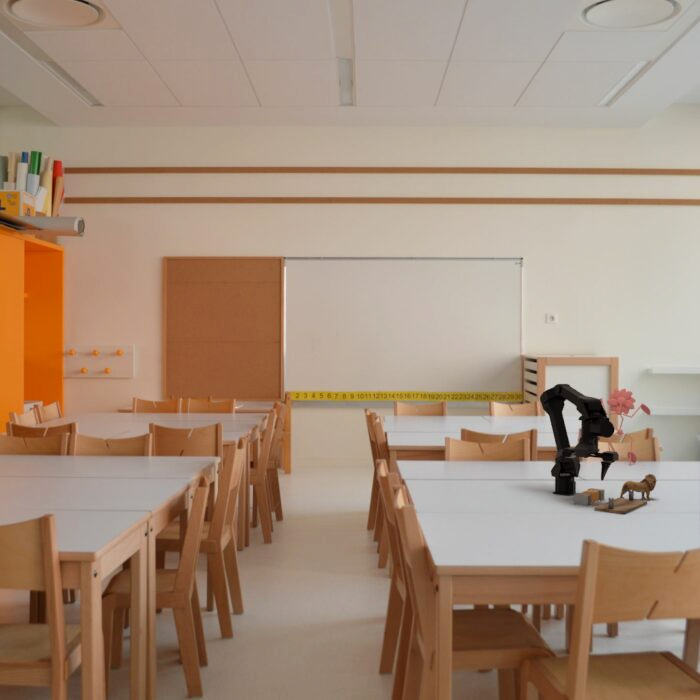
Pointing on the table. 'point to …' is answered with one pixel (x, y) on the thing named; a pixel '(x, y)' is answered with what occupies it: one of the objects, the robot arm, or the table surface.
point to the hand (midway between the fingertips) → (589, 478)
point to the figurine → (623, 403)
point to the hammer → (588, 497)
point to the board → (621, 505)
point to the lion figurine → (640, 486)
